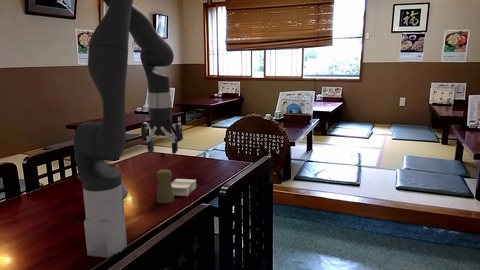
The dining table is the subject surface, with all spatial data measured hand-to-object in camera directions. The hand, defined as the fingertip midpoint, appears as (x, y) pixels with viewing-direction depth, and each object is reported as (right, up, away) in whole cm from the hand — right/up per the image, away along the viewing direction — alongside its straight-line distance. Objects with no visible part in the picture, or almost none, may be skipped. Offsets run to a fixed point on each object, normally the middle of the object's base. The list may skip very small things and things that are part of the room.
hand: (162, 152), depth 125 cm
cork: (0, -17, +3) cm, 17 cm away
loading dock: (+5, -15, +12) cm, 20 cm away
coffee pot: (-20, -19, -2) cm, 27 cm away
